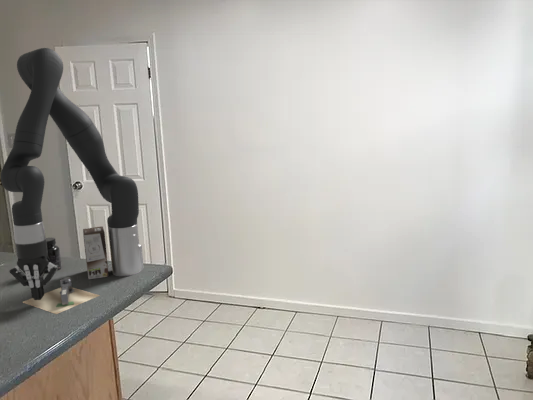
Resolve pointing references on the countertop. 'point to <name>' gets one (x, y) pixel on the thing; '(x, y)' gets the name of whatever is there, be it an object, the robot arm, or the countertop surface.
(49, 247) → the supplement bottle
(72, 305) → the board
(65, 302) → the tuning lever
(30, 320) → the countertop surface
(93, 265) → the coffee box
